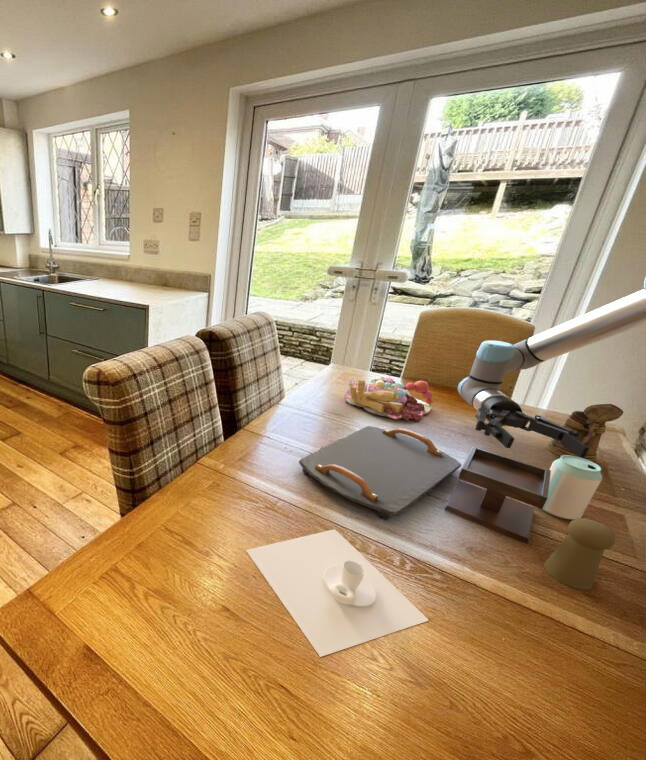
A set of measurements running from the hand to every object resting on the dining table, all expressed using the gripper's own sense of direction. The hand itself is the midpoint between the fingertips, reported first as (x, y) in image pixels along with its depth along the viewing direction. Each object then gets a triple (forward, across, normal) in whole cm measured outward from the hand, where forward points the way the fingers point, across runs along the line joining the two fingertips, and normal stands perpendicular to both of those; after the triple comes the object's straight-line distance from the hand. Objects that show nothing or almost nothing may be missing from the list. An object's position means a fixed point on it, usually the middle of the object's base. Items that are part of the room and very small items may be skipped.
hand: (546, 448), depth 88 cm
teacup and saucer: (+43, +49, -10) cm, 66 cm away
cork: (+29, +9, -10) cm, 32 cm away
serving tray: (+5, +33, -10) cm, 35 cm away
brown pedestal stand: (+14, +14, -10) cm, 22 cm away
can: (+9, 0, -10) cm, 14 cm away
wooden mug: (-17, -18, -10) cm, 27 cm away
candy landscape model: (-38, +21, -10) cm, 45 cm away
